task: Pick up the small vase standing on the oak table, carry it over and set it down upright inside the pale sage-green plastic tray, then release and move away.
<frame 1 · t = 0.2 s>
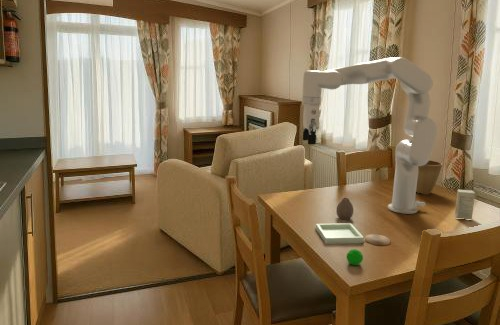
hand: (308, 142, 174), 31 cm above the table, tool pointing down, fingers open, 9 cm apart
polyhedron: (354, 264, 132), on the table
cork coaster: (377, 240, 151), on the table
vase: (344, 218, 173), on the table
tray: (338, 235, 154), on the table
skincare box: (462, 219, 176), on the table
plant pot: (422, 192, 213), on the table
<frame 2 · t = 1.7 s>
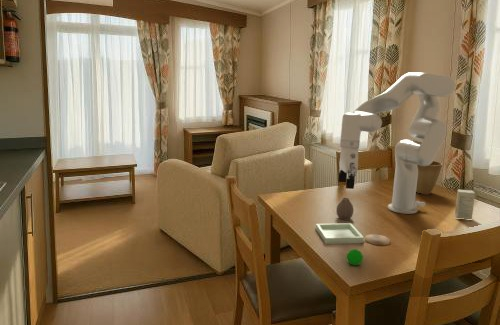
hand: (345, 185, 169), 14 cm above the table, tool pointing down, fingers open, 9 cm apart
nothing on the table moved.
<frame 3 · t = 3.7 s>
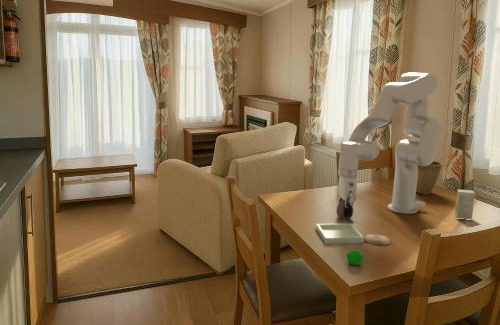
hand: (344, 213, 172), 2 cm above the table, tool pointing down, fingers closed on vase, 6 cm apart
vase: (344, 218, 173), on the table, touching gripper
everything else where it was.
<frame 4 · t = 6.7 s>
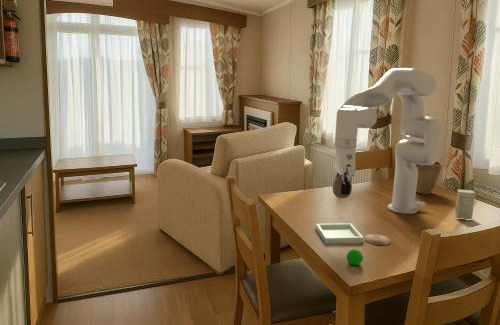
hand: (342, 190, 151), 17 cm above the table, tool pointing down, fingers closed on vase, 6 cm apart
vase: (341, 197, 151), point 15 cm above the table, touching gripper
everything else where it was.
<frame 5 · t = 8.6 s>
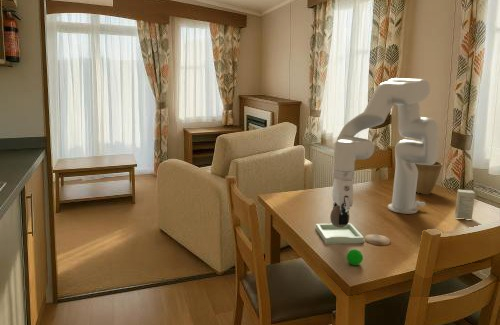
hand: (339, 220, 153), 6 cm above the table, tool pointing down, fingers closed on vase, 6 cm apart
vase: (339, 226, 154), point 4 cm above the table, touching gripper
everything else where it was.
when the fingers open (4 cm above the table, at t = 10.0 s): vase drops 1 cm, resting on tray.
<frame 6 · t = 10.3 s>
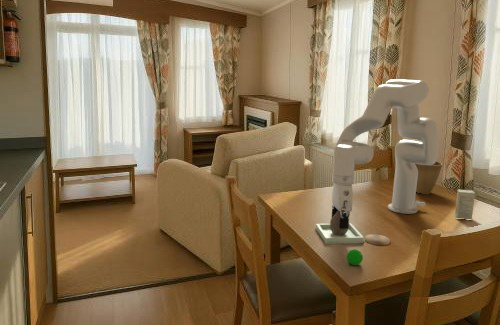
hand: (339, 223, 153), 5 cm above the table, tool pointing down, fingers open, 9 cm apart
vase: (338, 234, 155), resting on tray
everything else where it was.
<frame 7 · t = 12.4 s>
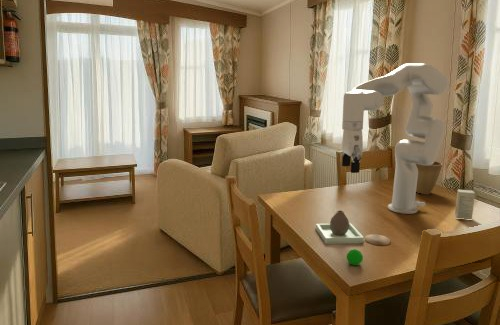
hand: (350, 169, 159), 23 cm above the table, tool pointing down, fingers open, 9 cm apart
nothing on the table moved.
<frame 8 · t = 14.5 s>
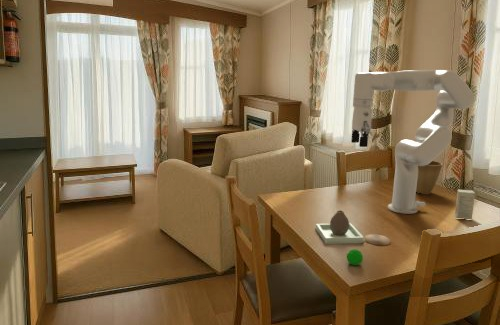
hand: (359, 144, 172), 30 cm above the table, tool pointing down, fingers open, 9 cm apart
nothing on the table moved.
at the end: vase inside the target area on the tray (0.3 cm from its centre), point 0.4 cm above the tray's base; vase tilted 0°; the gripper is holding nothing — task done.
